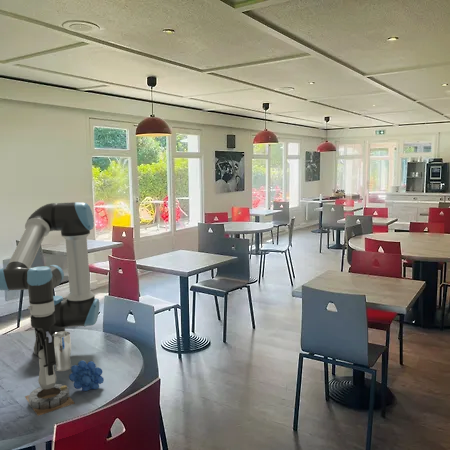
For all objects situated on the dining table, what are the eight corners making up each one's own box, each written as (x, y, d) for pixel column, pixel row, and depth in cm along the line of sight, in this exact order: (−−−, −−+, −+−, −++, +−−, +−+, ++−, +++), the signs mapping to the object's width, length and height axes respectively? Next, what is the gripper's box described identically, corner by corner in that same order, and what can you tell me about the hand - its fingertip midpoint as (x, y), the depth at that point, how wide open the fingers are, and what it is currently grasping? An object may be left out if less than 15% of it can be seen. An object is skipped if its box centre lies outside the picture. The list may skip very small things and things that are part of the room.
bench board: (24, 399, 158) (24, 396, 158) (59, 388, 166) (59, 385, 166) (38, 419, 146) (37, 415, 146) (75, 406, 153) (75, 403, 153)
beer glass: (76, 368, 182) (74, 331, 180) (65, 375, 176) (62, 338, 174) (62, 365, 185) (59, 330, 183) (50, 373, 178) (47, 336, 176)
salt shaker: (42, 383, 157) (39, 346, 156) (59, 382, 158) (56, 345, 156) (36, 391, 152) (33, 353, 150) (54, 390, 152) (51, 352, 150)
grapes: (69, 400, 157) (67, 367, 155) (70, 391, 163) (68, 359, 162) (104, 395, 160) (102, 362, 159) (104, 386, 167) (102, 355, 165)
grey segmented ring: (25, 398, 157) (24, 390, 156) (61, 387, 164) (61, 379, 164) (35, 413, 147) (34, 404, 147) (74, 400, 154) (73, 392, 154)
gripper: (23, 309, 157) (28, 373, 160) (39, 323, 142) (44, 394, 145) (45, 305, 161) (50, 367, 164) (63, 318, 146) (68, 386, 149)
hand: (47, 379), depth 155 cm, fingers closed on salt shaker, 6 cm apart
